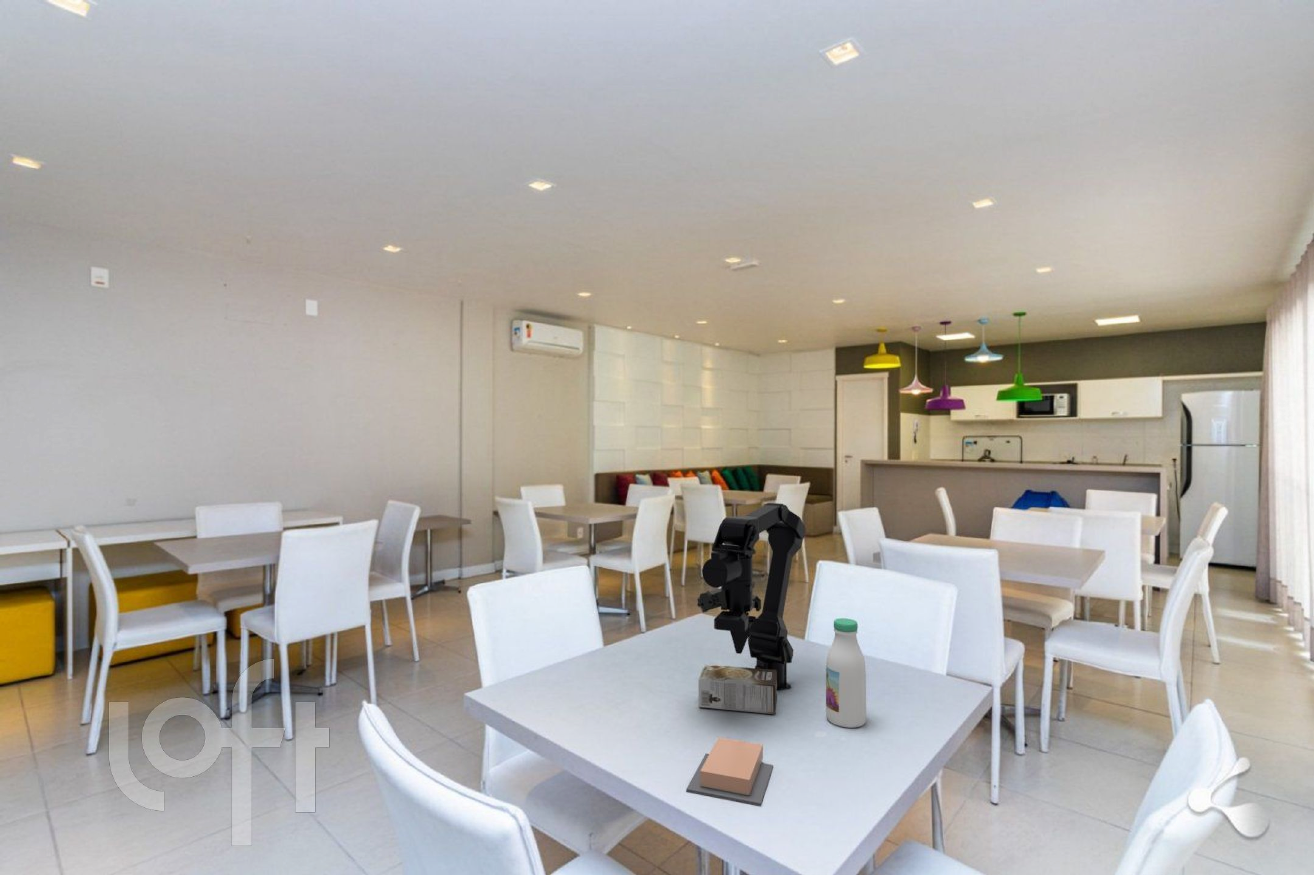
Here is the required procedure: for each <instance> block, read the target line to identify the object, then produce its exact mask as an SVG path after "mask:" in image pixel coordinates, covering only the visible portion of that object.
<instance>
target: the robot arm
mask: <svg viewBox="0 0 1314 875" xmlns="http://www.w3.org/2000/svg"><path fill="white" fill-rule="evenodd" d="M764 531H765V532H767V542H768V543H769V547H770V549H771V551H772V553H771V559H770V565H769V571H768V577H767V582H766V586H765V588H766V589H765V592H764V599H763V604H762V599H760V597H759V596H758V595H753V594H754V593H753V592H754V591H753V589H754V588H755V581H753V580H754V578H753V555H756V553H757V552H756V551H757V550H755V548H754V547H755V545H756V543H757V542H758V541H759V540H760V534H761V533H763V532H764ZM806 532H807V531H806V526H805V524H804V522H803V520H802V518H801V517H800V516H799V515H798V514H795V513H794V512H793V511H792V510H789V507H788V506H787V505H786V504H784V503H777V502H767V503H764V504H763V505H762V506H761V507H759V508H758V509H756V510H753V511H751V512H749V513H747V514H746V515H743V516H742V515H740V516H739V515H738V516H726V517H725V518H724V519H723V520H722V521H721V523H720V525H719V526H718V529H717V532H716V536H715V539H714V541H713V545H712V548H711V552H710V558H709V559H707V560H706V561H705V563H704V564H703V566H702V568H701V574H702V578H703V580H704V582H705V583H706V584H707V585H708V586H710V587H712V588H715V589H714V590H711V591H709V590H707V591H706V592H701V593H700V594H699V596H698V597H697V599H696V600H697V604H696V606H697V607H699V608H700V610H701V613H707V612H708V611H711V610H713V609H718V608H720V610H721V611H720V612H719V613H718V614H717V616H715V617H714V618H713V629H714V630H717V631H727V632H730V636H731V639H732V644H733V646H734V651H735V653H736V654H739V655H741V654H742V653H743V651H744V648H745V645H746V644H748V651H749V655H750V658H753V659H756V665H755V666H754V668H757V669H770V670H776V671H777V691H781V690H786V689H789V688H790V689H791V687H792V684H791V683H788V682H787V681H788V680H787V679H788V678H787V673H788V670H787V668H788V667H787V666H788V665H787V664H792V663H793V658H794V649H793V646H792V645H791V643H790V641H789V640H788V632H789V631H788V629H787V626H786V624H785V621H784V618H783V617H784V611H785V606H786V599H787V593H788V589H789V588H788V586H789V580H790V575H791V571H792V570H791V568H792V564H793V562H792V561H793V558H794V556H795V555H796V554H797V553H798V552H799V551H800V550H801V548H802V547H803V546H802V545H803V540H804V539H805V537H806ZM716 588H717V589H716ZM753 609H755V611H756V612H760V611H761V613H760V614H759V615H758V617H756V616H754V615H750V613H751V611H752V610H753ZM761 609H762V610H761Z"/></svg>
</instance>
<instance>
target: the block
mask: <svg viewBox="0 0 1314 875" xmlns="http://www.w3.org/2000/svg"><path fill="white" fill-rule="evenodd" d="M714 743H715V744H714V745H713V747H712V749H711V750H710V753H708V754H709V756H708V758H707V760H706V761H705V763H704V765H703V767H702V769H701V771H700V786H702V787H707V788H712V789H717V790H722V791H728V792H733V793H738V794H743V795H748V796H749V795H750V792H751V790H752V787H753V784H754V781H755V779H756V776H757V773H758V770H759V768H760V765H761V763H763V759H764V744H760V743H754V742H749V741H742V740H737V739H730V738H725V737H724V738H723V737H718V738H717V739H716V741H715V742H714Z"/></svg>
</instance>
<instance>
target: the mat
mask: <svg viewBox="0 0 1314 875" xmlns="http://www.w3.org/2000/svg"><path fill="white" fill-rule="evenodd" d="M709 754H710V753H705V754H704V756H703V758H702V759H701V761H700V763H699V765H698V767H697V769H696V771H695V772H694V773H693V776H692V778H691V780H690V781H689V783H688V785H687V786H686V789H685V790H686V792H688V793H693V794H696V795H697V794H698V795H703V796H708V797H713V798H718V799H722V800H729V801H733V802H734V801H735V802H739V803H744V804H749V805H754V806H759V807H760V806H762V804H763V801H764V797H765V794H766V791H767V787H768V784H769V782H770V779H771V775H772V773H773V769H774V765H773V764H770V763H763V762H761V765H760V768H759V770H758V773H757V776H756V779H755V781H754V784H753V787H752V790H751V792H750V795H749V796H748V795H743V794H738V793H733V792H728V791H722V790H717V789H712V788H707V787H702V786H700V771H701V769H702V767H703V765H704V763H705V761H706V760H707V758H708V756H709Z"/></svg>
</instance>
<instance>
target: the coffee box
mask: <svg viewBox="0 0 1314 875" xmlns="http://www.w3.org/2000/svg"><path fill="white" fill-rule="evenodd" d="M777 692H778V690H777V671H776V670H770V669H757V668H755V667H754V668H753V667H743V666H731V665H728V666H727V665H716V664H715V665H714V664H704V666H703V667H702V670H701V672H700V675H699V677H698V707H699V708H705V709H706V708H707V709H718V710H727V711H728V710H729V711H735V712H736V711H738V712H749V713H757V714H758V713H760V714H768V715H769V714H771V715H776V710H777V703H778V702H777V700H778V694H777Z"/></svg>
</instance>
